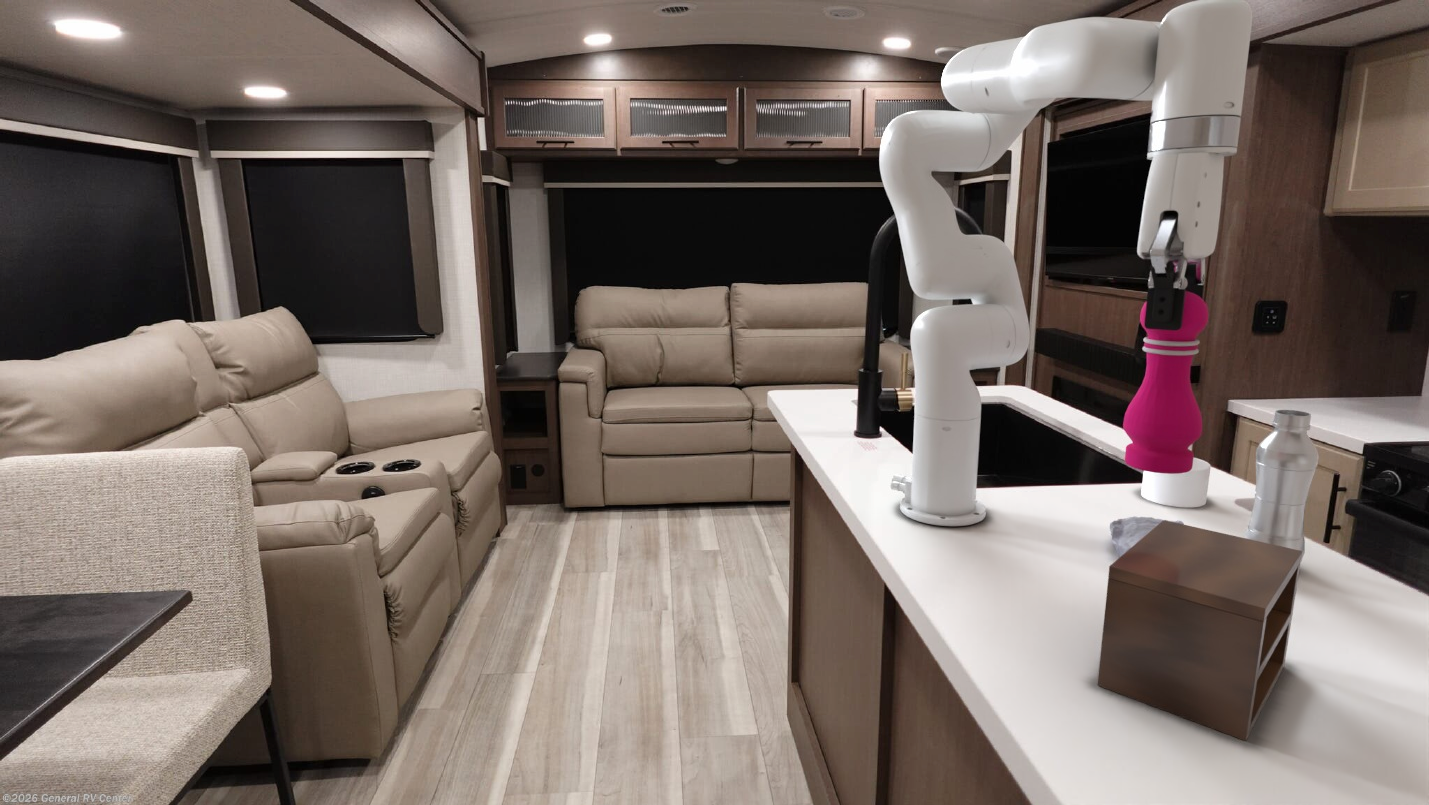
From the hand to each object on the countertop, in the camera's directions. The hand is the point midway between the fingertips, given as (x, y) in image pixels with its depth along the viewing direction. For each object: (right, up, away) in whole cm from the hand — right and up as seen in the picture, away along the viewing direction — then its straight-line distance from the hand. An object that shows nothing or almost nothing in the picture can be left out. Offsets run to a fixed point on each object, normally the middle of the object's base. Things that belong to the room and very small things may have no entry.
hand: (1172, 324), depth 80 cm
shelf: (0, -34, -4) cm, 35 cm away
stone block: (+11, -28, +24) cm, 39 cm away
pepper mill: (0, -15, +3) cm, 15 cm away
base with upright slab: (+27, -23, +45) cm, 58 cm away
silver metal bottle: (+24, -29, +20) cm, 43 cm away
